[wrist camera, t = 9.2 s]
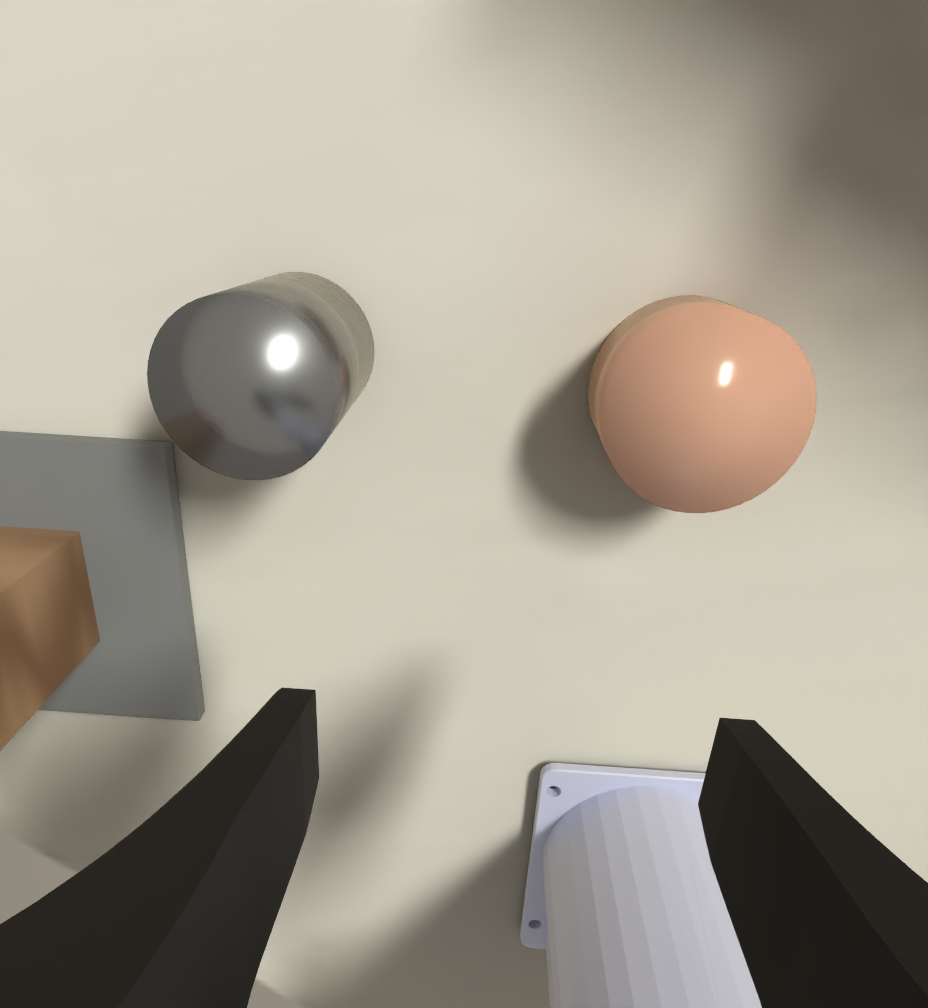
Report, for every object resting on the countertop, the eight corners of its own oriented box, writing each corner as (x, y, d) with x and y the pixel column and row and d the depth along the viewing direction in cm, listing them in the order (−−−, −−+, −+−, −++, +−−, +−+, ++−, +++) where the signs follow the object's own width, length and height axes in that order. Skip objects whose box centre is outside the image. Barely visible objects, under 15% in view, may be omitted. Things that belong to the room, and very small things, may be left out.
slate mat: (204, 711, 24) (199, 721, 24) (-74, 691, 24) (-85, 701, 24) (171, 441, 20) (164, 447, 20) (-162, 421, 20) (-176, 425, 20)
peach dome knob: (747, 477, 20) (787, 519, 17) (576, 465, 20) (590, 505, 17) (788, 301, 18) (842, 317, 15) (600, 289, 18) (619, 303, 15)
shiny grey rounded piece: (374, 421, 20) (338, 485, 15) (236, 413, 20) (159, 474, 15) (374, 276, 18) (333, 298, 14) (225, 267, 18) (135, 287, 14)
